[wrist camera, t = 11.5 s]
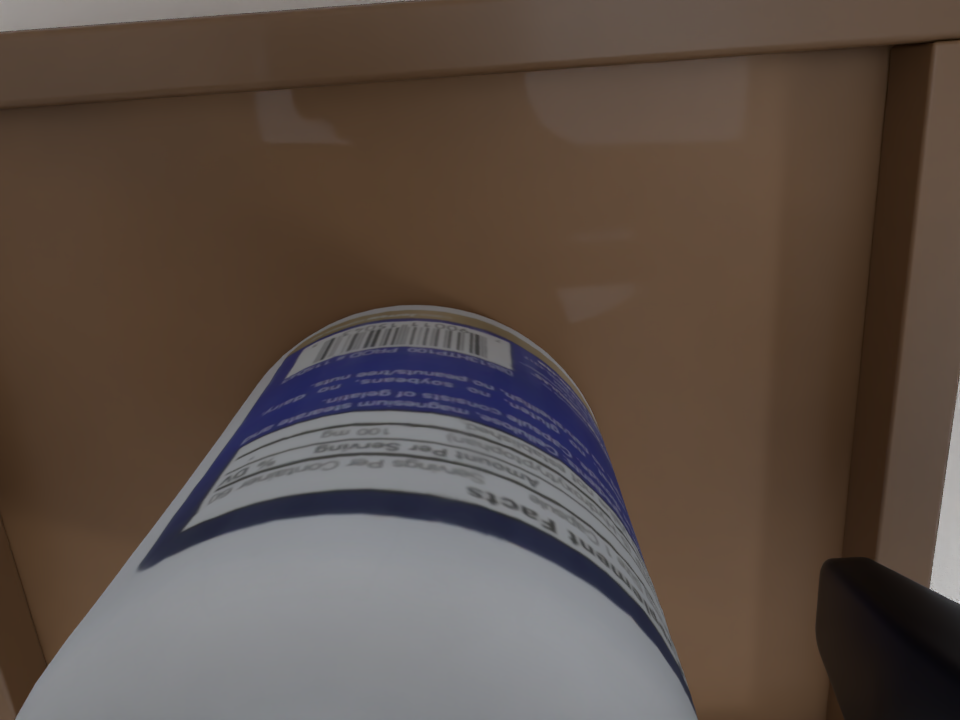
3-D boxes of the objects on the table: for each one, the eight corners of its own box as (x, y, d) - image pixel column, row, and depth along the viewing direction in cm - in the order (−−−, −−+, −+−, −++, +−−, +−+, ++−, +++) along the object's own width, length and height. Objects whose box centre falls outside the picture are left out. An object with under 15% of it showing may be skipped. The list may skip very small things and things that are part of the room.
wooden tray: (841, -5, 13) (1021, -47, 8) (793, 627, 16) (898, 817, 12) (-27, 60, 13) (-278, 51, 9) (130, 659, 17) (10, 853, 13)
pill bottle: (464, 678, 13) (417, 1840, 4) (174, 507, 12) (-616, 1584, 3) (682, 434, 11) (1249, 1474, 3) (372, 215, 10) (-146, 816, 2)
